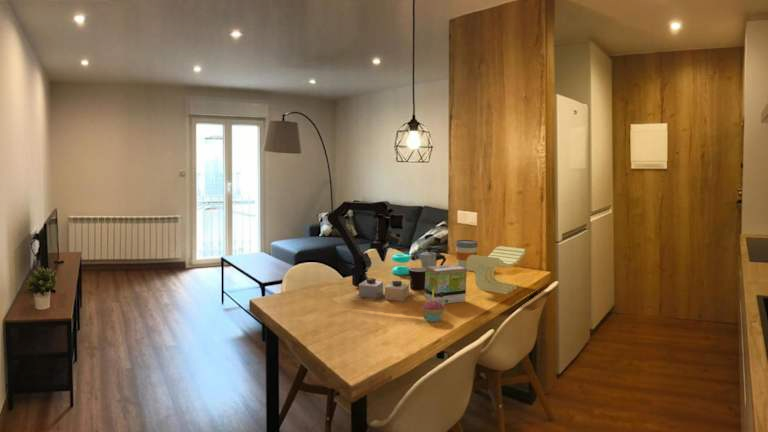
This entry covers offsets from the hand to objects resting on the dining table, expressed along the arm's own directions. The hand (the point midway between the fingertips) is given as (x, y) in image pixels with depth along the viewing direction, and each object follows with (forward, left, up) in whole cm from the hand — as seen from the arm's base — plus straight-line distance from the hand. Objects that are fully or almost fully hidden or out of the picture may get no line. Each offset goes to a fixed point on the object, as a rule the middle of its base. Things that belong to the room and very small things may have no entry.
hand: (383, 261), depth 226 cm
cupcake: (+34, -36, -13) cm, 51 cm away
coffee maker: (+18, +19, -13) cm, 29 cm away
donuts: (-2, +33, -13) cm, 36 cm away
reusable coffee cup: (+27, +62, -13) cm, 69 cm away
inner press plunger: (0, -16, -12) cm, 20 cm away
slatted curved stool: (+49, +21, -13) cm, 55 cm away
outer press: (+12, -16, -12) cm, 24 cm away
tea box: (+32, -9, -13) cm, 36 cm away
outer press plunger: (+12, -16, -12) cm, 24 cm away
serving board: (+6, -16, -13) cm, 22 cm away
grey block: (0, -16, -12) cm, 20 cm away
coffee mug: (+16, +4, -13) cm, 21 cm away
